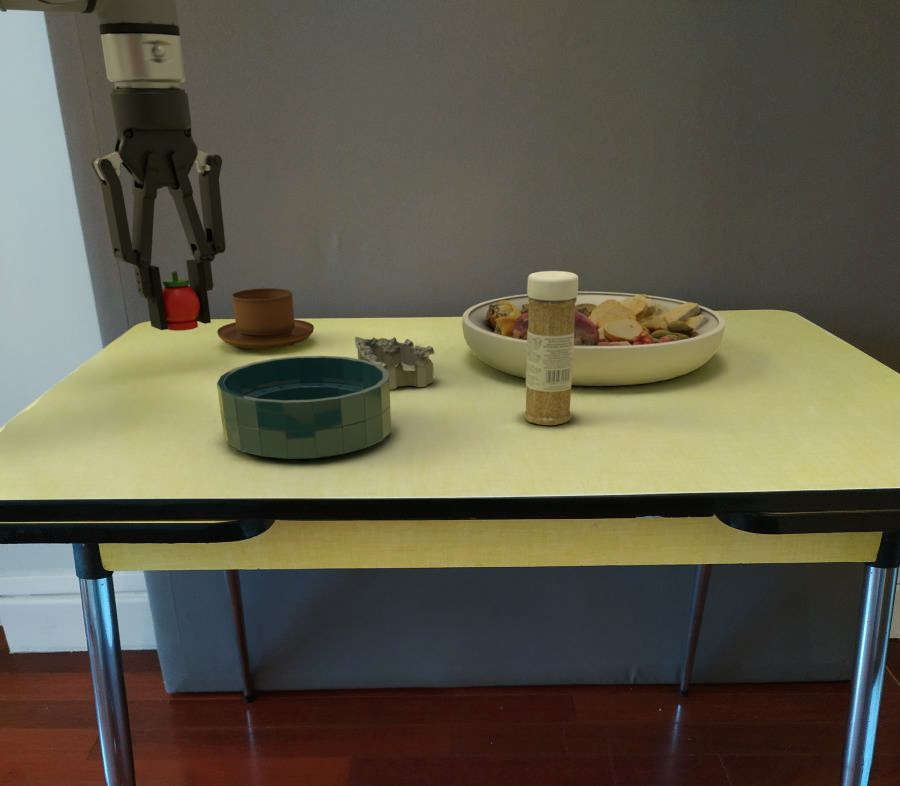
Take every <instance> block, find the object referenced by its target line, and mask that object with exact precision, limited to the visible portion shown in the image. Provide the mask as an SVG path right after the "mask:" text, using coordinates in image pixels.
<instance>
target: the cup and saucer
mask: <svg viewBox="0 0 900 786" xmlns="http://www.w3.org/2000/svg"><path fill="white" fill-rule="evenodd" d="M231 298H232V305H233V312H234V314H233V315H234V321H235V322H231V323H228V324H225V325H223V326H221V327H219V328H218V329H217V330H216V333H217V336H218V338H219V339H221V340H222V341H223V342H224V343H226V344H228V345H230V346H234V347H236V348H237V347H238V348H243V349H251V350H268V349H269V350H271V349H280V348H285V347H289V346H294V345H296V344H299V343H302V342H304V341H305V340H307V339H309V338H310V337H311V335H312V334H313V333H314V330H315V326H314V325H313V324H312V323H311V322H309V321H305V320H301V319H295V311H294V300H293V299H294V298H293V291H291V290H289V289H285V288H272V287H268V288H267V287H265V288H264V287H261V288H260V287H259V288H251V289H243V290H239V291H236V292H234V293H232V295H231Z"/></svg>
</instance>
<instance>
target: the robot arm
mask: <svg viewBox="0 0 900 786" xmlns="http://www.w3.org/2000/svg"><path fill="white" fill-rule="evenodd" d="M177 7H178V6H177V0H0V12H2V13H5V12H7V11H25V12H26V11H27V12H54V13H56V12H57V13H81V14H96V16H97V20H98V21H97V22H98V24H99V25H98V29H99V34H100V38H101V45H102V53H103V58H104V59H103V60H104V65H105V66H104V67H105V71H106V79H107V80H108V81H109V82H110V83H114V89H111V92H110V93H109V96H110V97H109V98H110V102H111V103H110V105H111V109H112V117H113V122H114V123H113V124H114V128H115V131H116V142H115V145H114V151H113V152H111V153H109V154H107V155H104V156H103V157H94V158H92V159H91V162H90V166H91V168H92V169H93V172H94V174H95V176H96V177H97V180H98V181H99V184H100V187H101V193H102V198H103V203H104V208H105V210H104V211H105V216H106V220H107V226H108V232H109V238H110V242H111V248H112V253H113V257H114V258H115V259H116V260H117V261H121V262H124V263H127V264H130V265H131V266H132V267H133V271H134V276H135V283H136V289H137V293H138V295H139V297H140V298H143V299H145V300H146V301H147V307H148V315H149V321H150V326H151V327H152V328H155V329H157V330H160V331H166V330H168V326H167V319H166V313H165V306H164V299H163V292H162V288H163V287H162V286H163V284H162V279H161V273H160V267H159V266H156V265H154V264H153V265H152V252H153V237H154V236H153V235H154V219H155V218H154V216H155V203H156V202H155V201H156V199H157V197H158V190H159V189H162V188H167V190H168V192H169V194H170V196H171V197H172V200H173V202H174V206H175V208H176V211H177V215H178V217H179V220H180V223H181V226H182V229H183V232H184V235H185V238H186V241H187V243H188V246H189V250H190V252H191V255H192V257H193V258H194V259H186V260H185V261H186V269H187V270H186V271H187V277H188V280H189V285H188V286H189V287H191V288H192V289H193V290H194V291H195V293H196V294H197V296H198V298H199V302H200V310H199V314H198V316H197V318H196V319H197V322H198V323H202V324H204V325H206V324H211V323H212V321H211V312H210V311H211V310H210V304H209V296H208V291H213V288H214V280H213V271H212V264H211V263H212V262H214V260H215V257H216V256H217V255H218V254H223V253H225V251H226V249H227V248H226V236H225V228H224V218H223V217H224V216H223V207H222V197H221V187H220V175H221V171H222V165H223V159H222V157H221V156H220V155H219V154H214V153H207V152H205V151H203V150H200V149H199V148H198V145H197V143H196V142H195V140H194V138H193V135H192V119H191V110H190V103H189V93H188V92H186V90H185V89H183V88H182V89H181V83H184V82H185V81H186V80H187V78H186V71H185V64H184V53H183V47H182V39H181V38H182V37H181V31H180V28H179V19H178V18H179V17H178V8H177ZM194 164H195V168H196V171H197V172H198V188H199V196H200V197H199V198H200V206H201V207H200V208H201V214H202V215H201V216H202V220H201V217H200V214H199V210H198V208H197V206H196V201H195V199H194V196H193V195H194V189H193V186H192V184H191V181H190V177H189V175H190V172H191V170H192V168H193V165H194ZM121 166H123V167H124V168H125V170H126V171H127V172H128V173H129V175H130V176H131V177H132V186H131V187H132V188H131V190H132V191H131V193H132V195H133V208H132V209H133V210H132V226H131V227H132V228H131V230H130V227H129V220H128V215H127V214H128V213H127V208H126V203H125V197H124V191H123V187H122V182H121V180H120V178H121V176H122V169H121ZM130 231H131V232H132V233H131V232H130Z"/></svg>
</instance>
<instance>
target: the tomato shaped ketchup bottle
mask: <svg viewBox="0 0 900 786" xmlns="http://www.w3.org/2000/svg"><path fill="white" fill-rule="evenodd" d="M161 284H162V286H163V287H162V292H163V299H164V306H165V313H166V319H167V326H168V329H167V330H168V331H177V332H178V331H179V332H180V331H181V332H182V331H190V330H195V329H197V328H198V327H199V321H197V319H196V318H197V316H198V314H199V310H200V302H199V298H198V296H197V294H196V293H195V291H194V290H193V289H192V288H191V287H190V285H189V278H185V277H179V276H178V271H177V270H172V271H171V277H169V278H165V279H161Z"/></svg>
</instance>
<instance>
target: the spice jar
mask: <svg viewBox="0 0 900 786" xmlns="http://www.w3.org/2000/svg"><path fill="white" fill-rule="evenodd" d="M526 286H527V287H526V294H527V296H528V301H529V316H528V332H527V366H526V378H525V387H526V389H525V390H526V391H525V411H524V415H523V416H524V418H525V419H526V421H528V422H529V423H532V424H537V425H541V426H542V425H543V426H557V425H562V424H565V423H567V422H568V421H570V419H571V417H572V413H571V394H572V385H571V383H572V369H573V346H574V324H575V303H576V301H577V298H576V297H577V296H578V292H579V276H578V275H577V273H574V272H571V271H570V272H569V271H564V270H563V271H562V270H545V271H537V272H533V273H529V274H528V276H527V285H526Z"/></svg>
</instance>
